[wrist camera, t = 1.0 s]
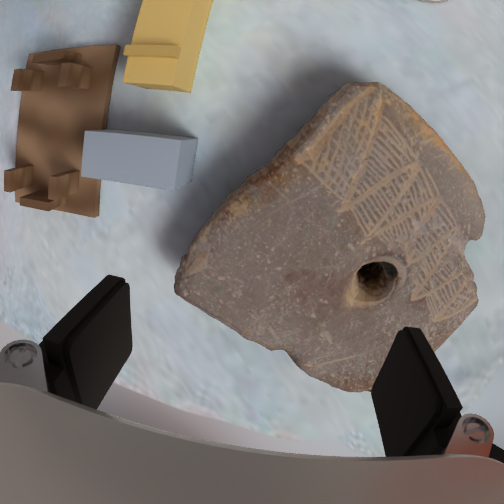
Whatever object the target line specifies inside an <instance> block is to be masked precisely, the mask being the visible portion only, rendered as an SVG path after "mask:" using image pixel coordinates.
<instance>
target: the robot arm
mask: <svg viewBox="0 0 504 504" xmlns="http://www.w3.org/2000/svg"><path fill="white" fill-rule="evenodd" d="M419 1H423V2H429V3H441V2H445V1H448V0H419ZM131 351H132V331H131V313H130V287H129V284H128V283H126V282H125V279H124V278H121V277H117V276H113V275H107V276H106V277H105V278H104V279H103V280H102V281H101V282H100V283H99V284H98V285H96V286H95V287H94V288H93V289H92V290H91V291H90V292H89V293H88V294H87V295H86V296H85V297H84V298H83V299H82V300H81V301H80V302H79V303H77V304H76V305H75V306H74V307H73V308H72V309H71V310H70V311H69V312H68V313H67V314H66V315H65V316H64V317H63V318H62V319H61V320H60V321H59V322H58V323H57V324H56V325H55V326H54V327H53V328H52V329H51V330H50V331H49V332H48V333H47V334H46V335H45V336H44V337H43V341H42V342H41V343H40V344H39V345H38V344H37V343H35V342H33V341H30V340H17V341H13V342H11V343H9V344H7V345H6V346H5V347H4V348H3V349H2V350H1V352H0V504H504V450H503V449H501V448H499V447H498V446H496V445H494V444H493V439H494V432H493V429H492V427H491V425H490V424H489V422H487V420H486V419H484V418H482V417H481V416H479V415H476V414H465V415H463V416H461V413H460V411H461V409H462V408H463V407H462V405H461V403H460V401H459V399H458V397H457V395H456V393H455V391H454V389H453V387H452V385H451V383H450V381H449V379H448V377H447V375H446V373H445V371H444V370H443V368H442V366H441V364H440V362H439V360H438V358H437V357H436V355H435V353H434V351H433V349H432V348H431V346H430V344H429V342H428V340H427V339H426V337H425V335H424V333H423V332H422V330H421V329H420V328H415V327H404V328H403V329H402V330H399V331H398V333H397V335H396V337H395V339H394V341H393V344H392V346H391V348H390V350H389V353H388V355H387V357H386V359H385V361H384V363H383V366H382V368H381V370H380V372H379V374H378V376H377V378H376V380H375V382H374V384H373V386H372V390H371V395H372V399H373V403H374V407H375V412H376V416H377V420H378V424H379V428H380V433H381V437H382V441H383V446H384V450H385V455H386V457H339V456H320V455H306V454H293V453H284V452H275V451H267V450H260V449H252V448H246V447H240V446H233V445H228V444H223V443H217V442H212V441H207V440H203V439H197V438H193V437H189V436H185V435H180V434H176V433H172V432H168V431H164V430H161V429H156V428H153V427H149V426H146V425H143V424H139V423H136V422H132V421H129V420H126V419H123V418H120V417H117V416H114V415H111V414H108V413H105V412H102V411H99V410H97V408H98V406H99V405H100V403H101V401H102V400H103V398H104V396H105V395H106V393H107V391H108V390H109V388H110V386H111V385H112V383H113V382H114V380H115V378H116V377H117V375H118V373H119V372H120V370H121V369H122V367H123V365H124V364H125V362H126V361H127V359H128V357H129V356H130V354H131Z"/></svg>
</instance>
